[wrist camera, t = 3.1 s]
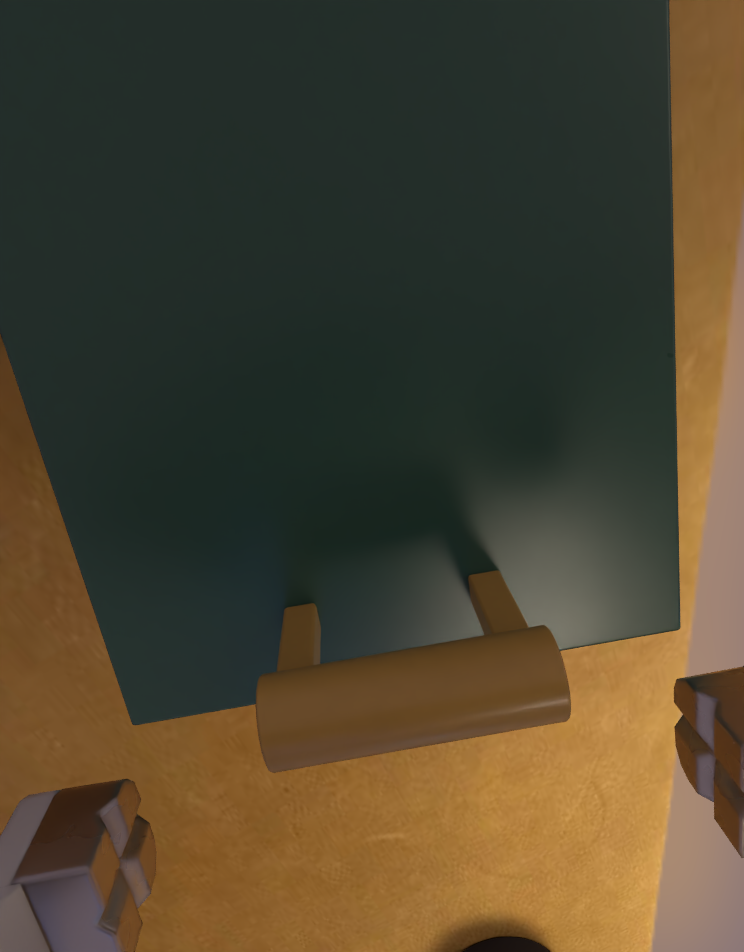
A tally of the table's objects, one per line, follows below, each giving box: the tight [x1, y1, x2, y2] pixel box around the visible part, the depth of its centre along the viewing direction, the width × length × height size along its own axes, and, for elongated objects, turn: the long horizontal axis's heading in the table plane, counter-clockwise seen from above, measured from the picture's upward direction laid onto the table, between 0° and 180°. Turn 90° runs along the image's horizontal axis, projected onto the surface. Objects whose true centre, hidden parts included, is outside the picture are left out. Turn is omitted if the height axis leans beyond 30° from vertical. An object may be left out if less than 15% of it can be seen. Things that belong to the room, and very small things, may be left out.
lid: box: [0, 0, 680, 773], centre depth 11 cm, size 16×13×5 cm
